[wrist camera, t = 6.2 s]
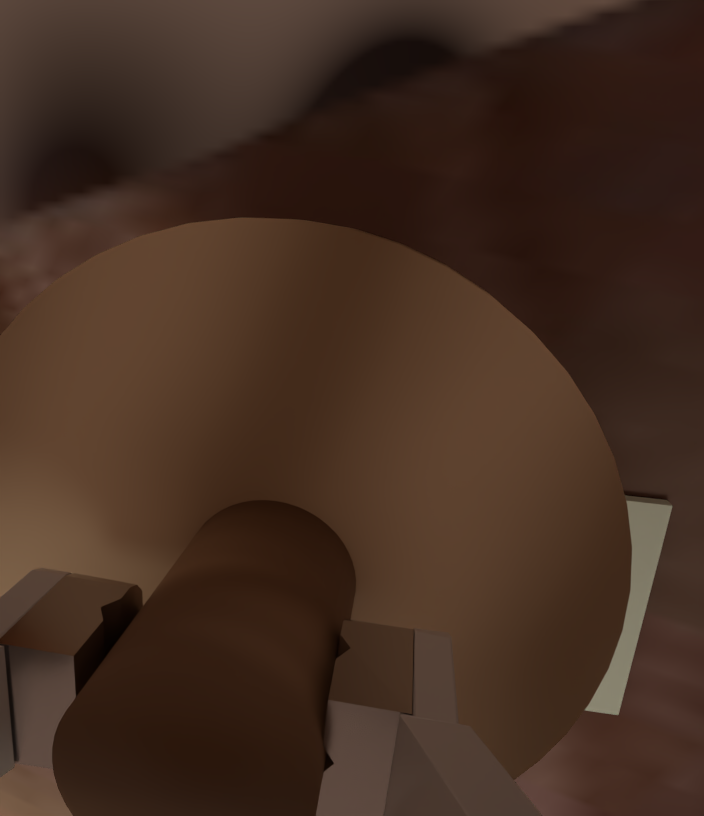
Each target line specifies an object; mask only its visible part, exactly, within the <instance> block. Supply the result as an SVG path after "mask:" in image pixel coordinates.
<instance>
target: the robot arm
mask: <svg viewBox="0 0 704 816" xmlns="http://www.w3.org/2000/svg"><path fill="white" fill-rule="evenodd" d="M142 607H143V596H142V590H141V588H140V587H139V586H138V585H137V584H131V583H126V582H120V581H115V580H110V579H104V578H99V577H93V576H88V575H83V574H77V573H73V574H72V573H70V572H65V571H59V570H53V569H47V568H39V569H34V570H32V571H30V572H29V573H28V574H27V575H26V576H24V577H23V578H22V579H21V580H20V581H19V582H18V583H16V584H15V585H14V586H13V587H12V588H11V589H9V590H8V591H7V592H6V593H5V594H4V595H2V596H1V597H0V777H1V776H3V775H4V774H5V773H7V772H8V771H10V770H11V769H13V768H14V766H15V763H17V764H24V765H30V766H37V767H43V768H50V769H53V764H52V746H53V741H54V735H55V732H56V730H57V727H58V724H59V722H60V720H61V718H62V717H63V715H64V713H65V712H66V710H67V709H68V707H69V706H70V705H71V703H72V702H73V701H74V699H75V698H76V697H77V695H78V694H79V692H80V691H81V690H82V688H83V687H84V686H85V684H86V683H87V682H88V680H89V679H90V678H91V676H92V675H93V673H94V672H95V671H96V669H97V668H98V667H99V665H100V664H101V663H102V661H103V660H104V659H105V657H106V656H107V654H108V653H109V652H110V650H111V649H112V648H113V646H114V645H115V644H116V642H117V641H118V639H119V638H120V637H121V635H122V634H123V633H124V631H125V630H126V629H127V627H128V626H129V625H130V623H131V622H132V620H133V619H134V618H135V616H136V615H137V614H138V612H139V611H140V610H141V608H142ZM323 747H324V748H325V750H326V752H327V755H326V761H325V766H324V772H323V778H322V783H321V789H320V795H319V800H318V806H317V811H316V816H542V814H541V813H540V812H539V811H538V809H537V808H536V807H535V806H534V805H533V803H532V802H531V801H530V800H529V798H528V797H527V796H526V795H525V793H524V792H523V791H522V790H521V788H520V787H519V786H518V785H517V783H516V782H515V781H514V780H513V778H512V777H511V776H510V775H509V773H508V772H507V771H506V770H505V769H504V767H503V766H502V765H501V764H500V762H499V761H498V760H497V759H496V757H495V756H494V755H493V754H492V752H491V751H490V750H489V749H488V747H487V746H486V745H485V744H484V742H483V741H482V740H481V739H480V738H479V736H478V735H477V734H476V733H475V731H474V730H473V729H472V728H471V726H467V725H462V724H459V720H458V708H457V696H456V685H455V673H454V661H453V649H452V637H451V636H450V634H449V633H448V632H441V631H433V630H426V629H418V628H414V629H408V628H402V627H396V626H389V625H383V624H376V623H370V622H364V621H357V620H351V619H344V621H343V625H342V630H341V635H340V643H339V651H338V658H337V659H336V661H335V666H334V671H333V677H332V682H331V687H330V693H329V698H328V705H327V713H326V721H325V730H324V738H323Z"/></svg>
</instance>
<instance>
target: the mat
mask: <svg viewBox="0 0 704 816" xmlns="http://www.w3.org/2000/svg"><path fill="white" fill-rule="evenodd" d="M625 498H626V502H627V508H628V516H629V525H630V534H631V542H632V564H631V589H630V595H629V600H628V605H627V610H626V615H625V620H624V625H623V630H622V633H621V636H620V639H619V642H618V644H617V647H616V650H615V653H614V655H613V658H612V661H611V663H610V666H609V669H608V671H607V673H606V674H605V676H604V678H603V680H602V682H601V683H600V685H599V687H598V689H597V691H596V693H595V694H594V696H593V698H592V700H591V702H590V703H589V705H588V706H587V707H586V709H585V710H587V711H594V712H601V713H607V714H614V715H618V714H619V710H620V706H621V703H622V699H623V695H624V691H625V687H626V683H627V679H628V676H629V672H630V668H631V664H632V660H633V656H634V652H635V649H636V645H637V641H638V637H639V633H640V629H641V625H642V622H643V618H644V614H645V610H646V606H647V602H648V599H649V595H650V591H651V587H652V583H653V579H654V575H655V572H656V568H657V564H658V560H659V556H660V552H661V548H662V545H663V541H664V537H665V533H666V529H667V525H668V521H669V518H670V514H671V510H672V505H671V504H670V502H669V501H668V500H662V499H654V498H645V497H636V496H627V495H625Z"/></svg>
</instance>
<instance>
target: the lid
mask: <svg viewBox="0 0 704 816" xmlns="http://www.w3.org/2000/svg"><path fill="white" fill-rule="evenodd" d="M631 564H632V542H631V534H630V525H629V516H628V508H627V502H626V498H625V494H624V491H623V487H622V484H621V480H620V476H619V473H618V469H617V466H616V462H615V459H614V456H613V454H612V452H611V450H610V447H609V445H608V443H607V441H606V438H605V436H604V434H603V432H602V429H601V427H600V425H599V423H598V421H597V418H596V416H595V414H594V413H593V411H592V409H591V408H590V406H589V405H588V403H587V402H586V400H585V398H584V397H583V395H582V394H581V392H580V391H579V389H578V388H577V386H576V384H575V383H574V381H573V380H572V378H571V377H570V375H569V373H568V372H567V371H566V370H565V369H564V367H563V366H562V365H561V364H560V363H559V362H558V360H557V359H556V358H555V357H554V356H553V355H552V353H551V352H550V351H549V350H548V349H547V348H546V347H545V345H544V344H543V343H542V342H541V341H540V340H539V338H538V337H537V336H536V335H535V334H534V333H533V332H532V331H531V330H530V329H529V328H528V327H526V326H525V325H524V324H523V323H522V322H521V321H520V320H519V319H517V318H516V317H515V316H514V315H513V314H512V313H511V312H509V311H508V310H507V309H506V308H505V307H504V306H503V305H501V304H500V303H499V302H498V301H497V300H496V299H495V298H493V297H492V296H491V295H490V294H489V293H488V292H487V291H485V290H484V289H482V288H481V287H479V286H478V285H476V284H475V283H473V282H472V281H470V280H469V279H467V278H466V277H464V276H463V275H461V274H460V273H458V272H457V271H455V270H454V269H452V268H450V267H449V266H447V265H446V264H444V263H442V262H440V261H438V260H436V259H434V258H432V257H429V256H427V255H425V254H423V253H421V252H419V251H417V250H415V249H413V248H411V247H408V246H406V245H404V244H402V243H399V242H396V241H393V240H390V239H387V238H383V237H380V236H377V235H374V234H371V233H368V232H365V231H361V230H358V229H355V228H349V227H343V226H337V225H332V224H326V223H320V222H314V221H308V220H298V219H275V218H244V217H239V218H230V219H221V220H212V221H203V222H194V223H187V224H183V225H180V226H176V227H172V228H168V229H164V230H160V231H157V232H153V233H149V234H145V235H141V236H139V237H136V238H134V239H132V240H129V241H127V242H125V243H122V244H120V245H118V246H115V247H113V248H111V249H108V250H106V251H104V252H101V253H99V254H97V255H95V256H93V257H92V258H90V259H89V260H87V261H85V262H84V263H82V264H81V265H79V266H77V267H76V268H74V269H73V270H71V271H69V272H68V273H66V274H65V275H63V276H61V277H60V278H58V279H57V280H56V281H54V282H53V283H52V284H51V285H50V286H49V287H47V288H46V289H45V290H44V291H43V292H42V293H41V294H39V295H38V296H37V297H36V298H35V299H34V300H32V301H31V302H30V303H29V304H28V305H27V306H26V307H24V308H23V309H22V311H21V312H20V313H19V314H18V315H17V317H16V318H15V319H14V320H13V321H12V323H11V324H10V325H9V326H8V327H7V328H6V330H5V331H4V332H3V333H2V334H1V336H0V597H1V596H2V595H4V594H5V593H6V592H7V591H8V590H9V589H11V588H12V587H13V586H14V585H15V584H16V583H18V582H19V581H20V580H21V579H22V578H23V577H24V576H26V575H27V574H28V573H29V572H30V571H32V570H34V569H39V568H47V569H53V570H59V571H65V572H70V573H72V574H73V573H77V574H83V575H88V576H93V577H99V578H104V579H110V580H115V581H120V582H126V583H131V584H137V585H138V586H139V587H140V588H141V590H142V596H143V607H142V608H141V610H140V611H139V612H138V614H137V615H136V616H135V618H134V619H133V620H132V622H131V623H130V625H129V626H128V627H127V629H126V630H125V631H124V633H123V634H122V635H121V637H120V638H119V639H118V641H117V642H116V644H115V645H114V646H113V648H112V649H111V650H110V652H109V653H108V654H107V656H106V657H105V659H104V660H103V661H102V663H101V664H100V665H99V667H98V668H97V669H96V671H95V672H94V673H93V675H92V676H91V678H90V679H89V680H88V682H87V683H86V684H85V686H84V687H83V688H82V690H81V691H80V692H79V694H78V695H77V697H76V698H75V699H74V701H73V702H72V703H71V705H70V706H69V707H68V709H67V710H66V712H65V713H64V715H63V717H62V718H61V720H60V722H59V724H58V727H57V730H56V732H55V735H54V741H53V746H52V764H53V771H54V776H55V779H56V783H57V786H58V789H59V791H60V793H61V795H62V797H63V800H64V802H65V803H66V805H67V807H68V808H69V810H70V811H71V813H72V815H73V816H316V811H317V806H318V800H319V795H320V789H321V783H322V778H323V772H324V766H325V761H326V755H327V752H326V750H325V748H324V747H323V738H324V730H325V721H326V713H327V705H328V698H329V693H330V687H331V682H332V677H333V671H334V666H335V661H336V659H337V658H338V651H339V643H340V635H341V630H342V625H343V621H344V619H351V620H357V621H364V622H370V623H376V624H383V625H389V626H396V627H402V628H408V629H414V628H418V629H426V630H433V631H441V632H448V633H449V634H450V636H451V637H452V649H453V661H454V673H455V685H456V696H457V708H458V720H459V724H462V725H467V726H471V728H472V729H473V730H474V731H475V733H476V734H477V735H478V736H479V738H480V739H481V740H482V741H483V742H484V744H485V745H486V746H487V747H488V749H489V750H490V751H491V752H492V754H493V755H494V756H495V757H496V759H497V760H498V761H499V762H500V764H501V765H502V766H503V767H504V769H505V770H506V771H507V772H508V773H509V775H510V776H511V777H512V778H513V780H514V779H516V778H517V777H518V776H520V775H521V774H522V773H524V772H525V771H526V770H528V769H529V768H530V767H532V766H533V765H534V764H536V763H537V762H538V761H539V760H540V759H541V758H543V757H544V756H545V755H546V754H547V753H548V752H549V751H550V750H551V749H552V748H553V747H554V746H555V745H556V744H557V743H558V742H559V741H560V740H561V739H562V738H563V737H564V736H565V735H566V734H567V732H568V731H569V730H570V728H571V727H572V726H573V724H574V723H575V722H576V721H577V719H578V718H579V717H580V715H581V714H582V713H583V711H584V710H585V709H586V707H587V706H588V705H589V703H590V702H591V700H592V698H593V696H594V694H595V693H596V691H597V689H598V687H599V685H600V683H601V682H602V680H603V678H604V676H605V674H606V673H607V671H608V669H609V666H610V663H611V661H612V658H613V655H614V653H615V650H616V647H617V644H618V642H619V639H620V636H621V633H622V630H623V625H624V620H625V615H626V610H627V605H628V600H629V595H630V589H631Z"/></svg>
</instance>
